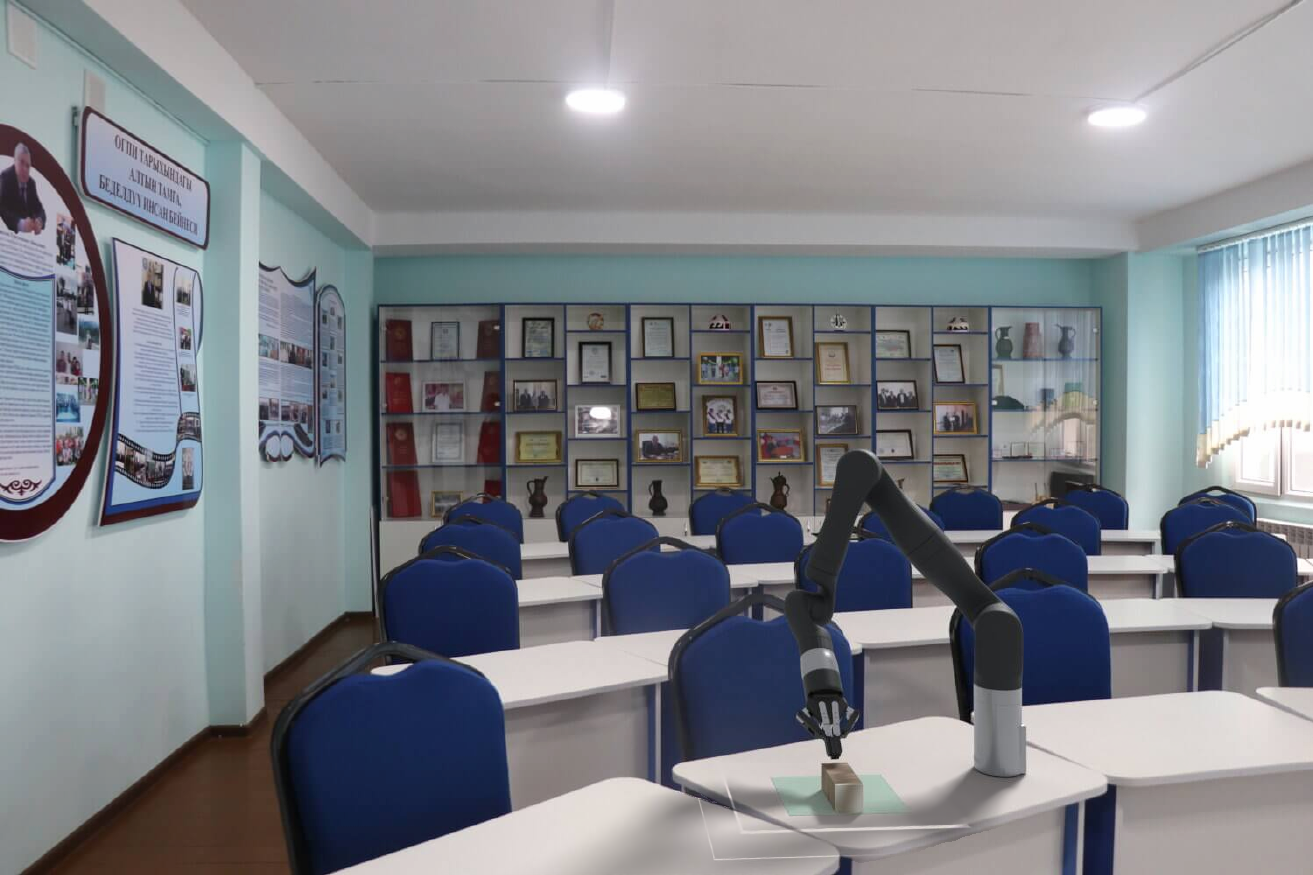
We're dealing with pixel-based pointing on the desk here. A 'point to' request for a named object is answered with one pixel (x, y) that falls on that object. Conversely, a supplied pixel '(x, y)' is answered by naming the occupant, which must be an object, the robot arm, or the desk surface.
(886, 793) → the sage mat
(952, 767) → the desk surface
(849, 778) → the walnut block
